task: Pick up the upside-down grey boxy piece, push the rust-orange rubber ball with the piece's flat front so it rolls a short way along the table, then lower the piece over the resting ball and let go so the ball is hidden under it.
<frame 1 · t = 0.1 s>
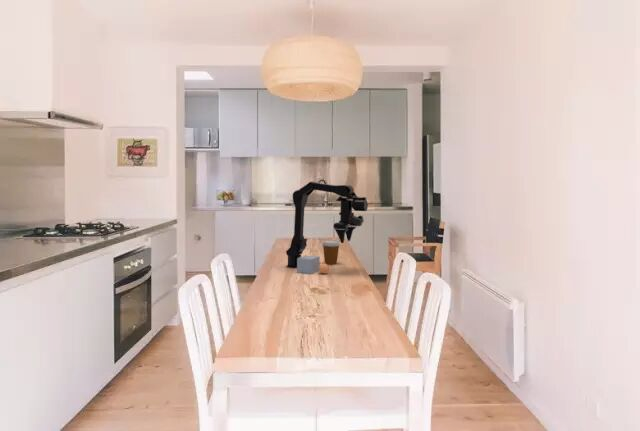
hand: (345, 241, 244), 15 cm above the table, tool pointing down, fingers open, 9 cm apart
ball: (323, 268, 238), on the table
disposable coffee cup: (330, 264, 266), on the table
grey boxy piece: (308, 271, 244), on the table
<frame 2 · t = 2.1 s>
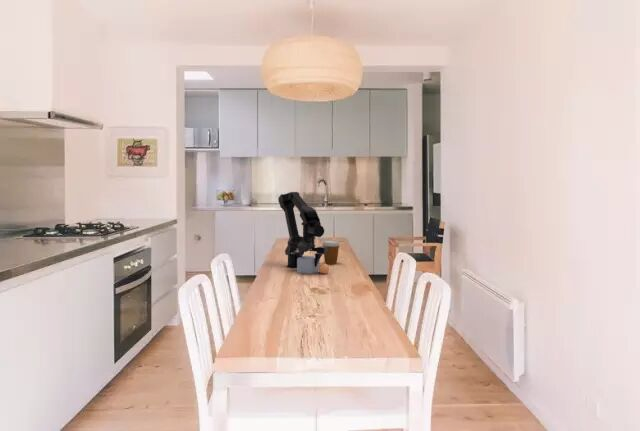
hand: (308, 266, 243), 3 cm above the table, tool pointing down, fingers closed on grey boxy piece, 8 cm apart
grey boxy piece: (308, 271, 244), on the table, touching gripper
everything else where it was.
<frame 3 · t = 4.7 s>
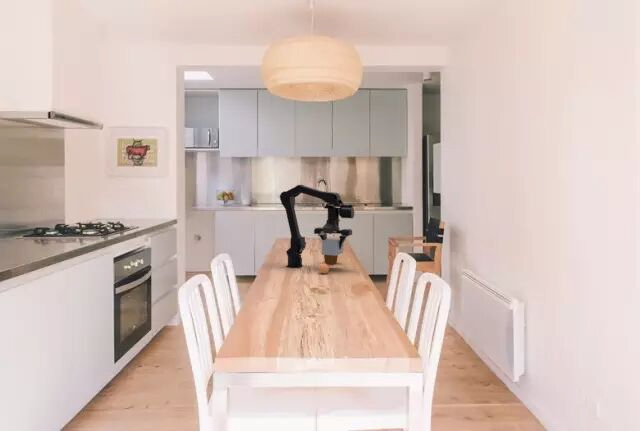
hand: (332, 248, 249), 11 cm above the table, tool pointing down, fingers closed on grey boxy piece, 8 cm apart
grey boxy piece: (332, 253, 249), point 8 cm above the table, touching gripper
everything else where it was.
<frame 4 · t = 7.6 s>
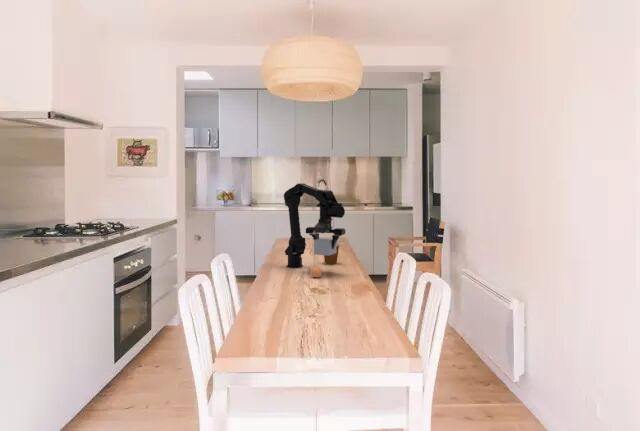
hand: (325, 248, 239), 12 cm above the table, tool pointing down, fingers closed on grey boxy piece, 8 cm apart
ball: (316, 272, 229), on the table
grey boxy piece: (325, 253, 239), point 10 cm above the table, touching gripper
everything else where it was.
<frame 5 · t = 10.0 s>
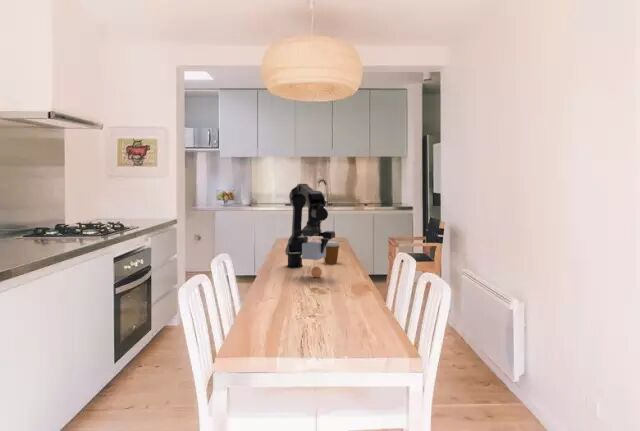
hand: (314, 252, 226), 12 cm above the table, tool pointing down, fingers closed on grey boxy piece, 8 cm apart
grey boxy piece: (314, 257, 227), point 9 cm above the table, touching gripper
everything else where it was.
when the fingers open (3 cm above the table, at t = 12.2 s): grey boxy piece stays where it is, on the table.
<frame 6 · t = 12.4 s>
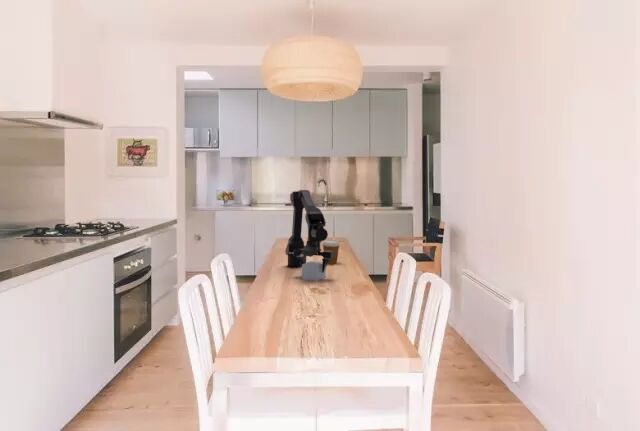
hand: (313, 271, 227), 3 cm above the table, tool pointing down, fingers open, 9 cm apart
grey boxy piece: (313, 278, 228), on the table
everything else where it was.
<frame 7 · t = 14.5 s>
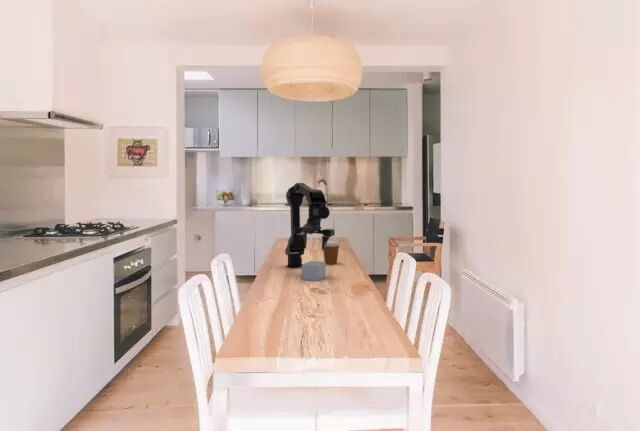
hand: (313, 249, 234), 12 cm above the table, tool pointing down, fingers open, 9 cm apart
nothing on the table moved.
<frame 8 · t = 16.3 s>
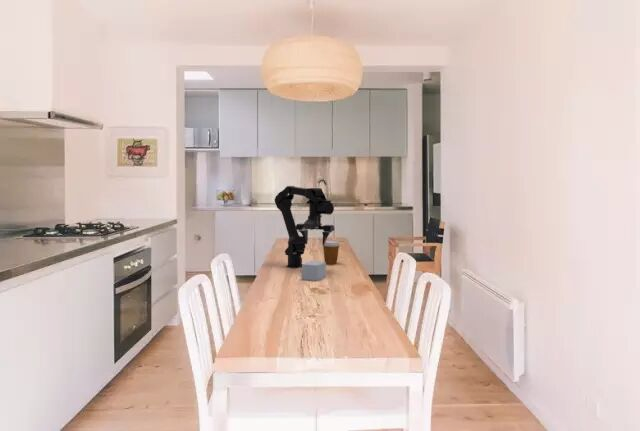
hand: (314, 244, 245), 13 cm above the table, tool pointing down, fingers open, 9 cm apart
nothing on the table moved.
at the end: ball 2.0 cm from the grey boxy piece (horizontally); grey boxy piece on the table; ball moved 9.8 cm from its start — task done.
